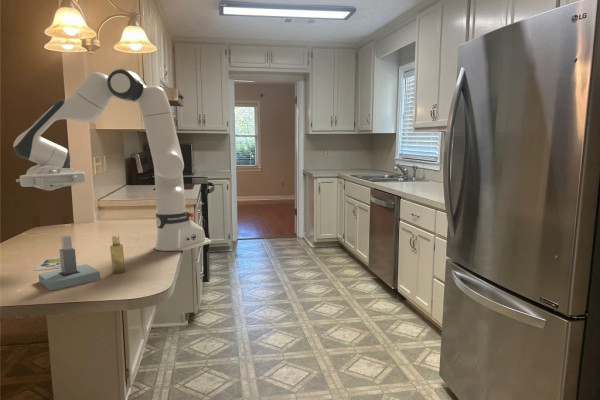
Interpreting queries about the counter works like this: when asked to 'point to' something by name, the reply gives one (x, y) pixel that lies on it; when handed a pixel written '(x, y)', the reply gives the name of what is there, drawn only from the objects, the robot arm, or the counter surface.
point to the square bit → (67, 257)
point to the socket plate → (68, 277)
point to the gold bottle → (117, 256)
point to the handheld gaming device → (49, 264)
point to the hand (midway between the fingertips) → (60, 180)
